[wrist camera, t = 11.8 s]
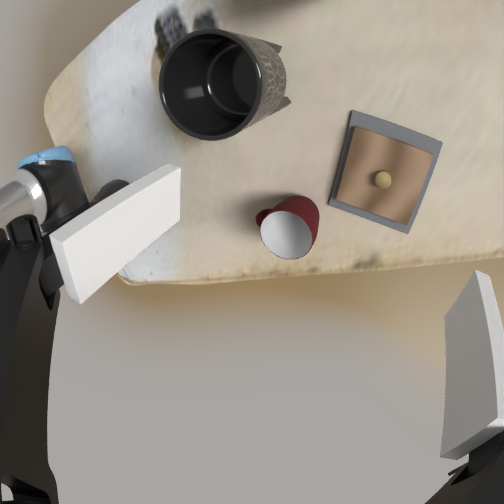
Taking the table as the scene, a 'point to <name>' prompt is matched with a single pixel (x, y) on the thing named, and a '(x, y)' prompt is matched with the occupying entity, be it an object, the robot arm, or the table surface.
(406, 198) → the lid
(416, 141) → the mat
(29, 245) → the robot arm
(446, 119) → the table surface
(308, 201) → the mug
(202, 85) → the planter
